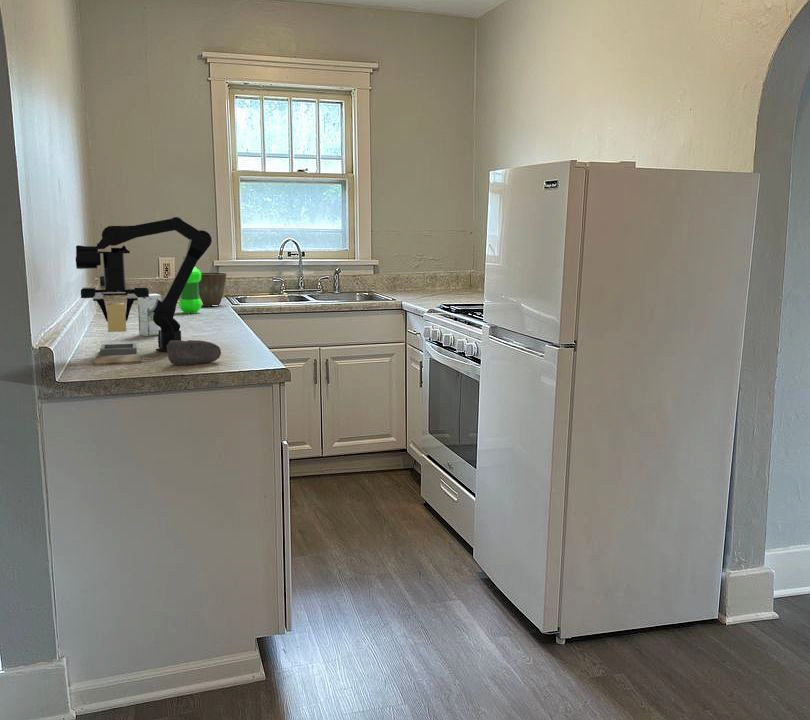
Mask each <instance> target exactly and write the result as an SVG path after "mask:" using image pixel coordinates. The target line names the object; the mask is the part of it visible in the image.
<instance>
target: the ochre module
mask: <svg viewBox="0 0 810 720" xmlns="http://www.w3.org/2000/svg"><path fill="white" fill-rule="evenodd" d="M106 309H107V318H108V322H107V332H108V333H116V332H117V333H119V332H121V333H122V332H127V321H126V303H125V302H119V303H116V302H114V303H112V302H110V303H107V304H106Z"/></svg>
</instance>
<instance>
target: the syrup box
mask: <svg viewBox="0 0 810 720" xmlns="http://www.w3.org/2000/svg"><path fill="white" fill-rule="evenodd" d="M157 298H158V299H159V300H162V294H159V293H149V297H138V300H137V308H138V334H139V335H140V336H145V337H154V336H158V335H159V332H158V330H162V329H161V328H160V326H158V325H156V324H155V323H154V321H153V318H152V310H151V309H152V308H153V307H154V306H155V303H156V300H157Z"/></svg>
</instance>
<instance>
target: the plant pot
mask: <svg viewBox="0 0 810 720" xmlns="http://www.w3.org/2000/svg"><path fill="white" fill-rule="evenodd" d="M226 279H227V273H225V272H201V280H200V281H199V299H200V300H201V303H202V305H203V307H205V306H212V305H219V304H220V305H221V302H222V299H223V295H224V292H225V287H226V286H225V285H226ZM220 305H219V306H220Z"/></svg>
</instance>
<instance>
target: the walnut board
mask: <svg viewBox="0 0 810 720" xmlns="http://www.w3.org/2000/svg"><path fill="white" fill-rule="evenodd" d="M141 363H142V361H141V354H140V353H137V354H132V355H109V356H101V355H96V356H95V359H94V362H93V364H94V365H93V366H105V365H126V364H127V365H130V364H131V365H132V364H141Z"/></svg>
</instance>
